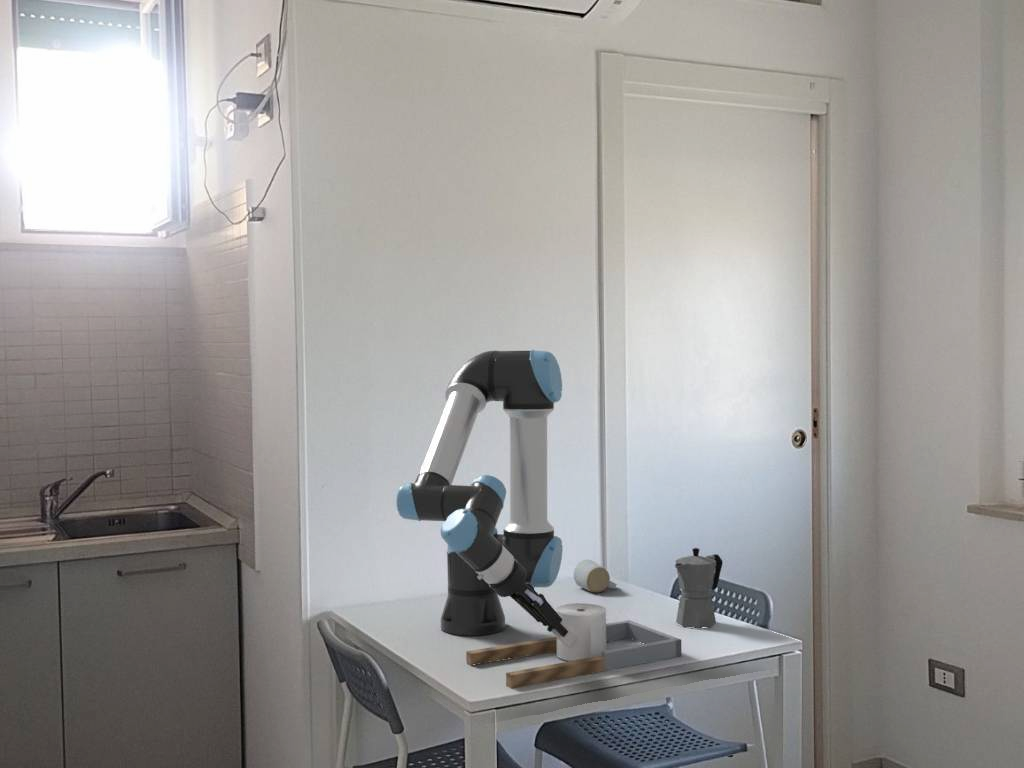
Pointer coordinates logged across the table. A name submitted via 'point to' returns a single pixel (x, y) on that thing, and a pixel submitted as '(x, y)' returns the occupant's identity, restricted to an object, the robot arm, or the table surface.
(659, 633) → the tray
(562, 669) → the slot lane
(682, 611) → the coffeepot
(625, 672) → the table surface
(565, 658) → the toilet tissue
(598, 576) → the ceramic mug
